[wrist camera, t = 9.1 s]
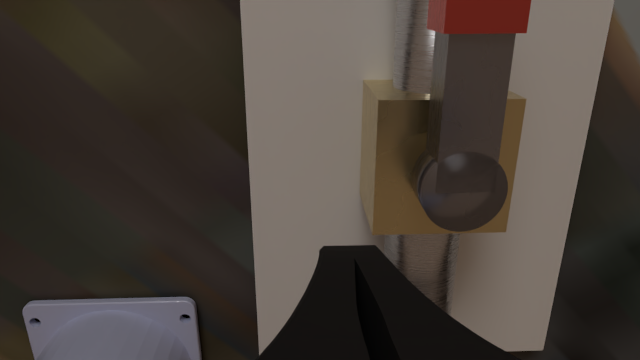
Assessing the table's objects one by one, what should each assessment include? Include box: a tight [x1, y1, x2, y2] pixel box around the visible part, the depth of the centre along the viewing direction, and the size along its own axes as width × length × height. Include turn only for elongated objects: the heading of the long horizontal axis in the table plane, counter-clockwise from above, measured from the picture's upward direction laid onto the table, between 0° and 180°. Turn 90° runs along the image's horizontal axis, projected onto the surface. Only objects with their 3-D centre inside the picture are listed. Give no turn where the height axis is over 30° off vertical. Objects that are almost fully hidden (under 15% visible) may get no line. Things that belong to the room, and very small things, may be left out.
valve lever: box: [412, 0, 531, 232], centre depth 14 cm, size 10×3×2 cm, turn 0°
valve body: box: [360, 0, 527, 316], centre depth 18 cm, size 18×5×4 cm, turn 0°
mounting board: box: [240, 0, 614, 355], centre depth 21 cm, size 22×14×1 cm, turn 0°
